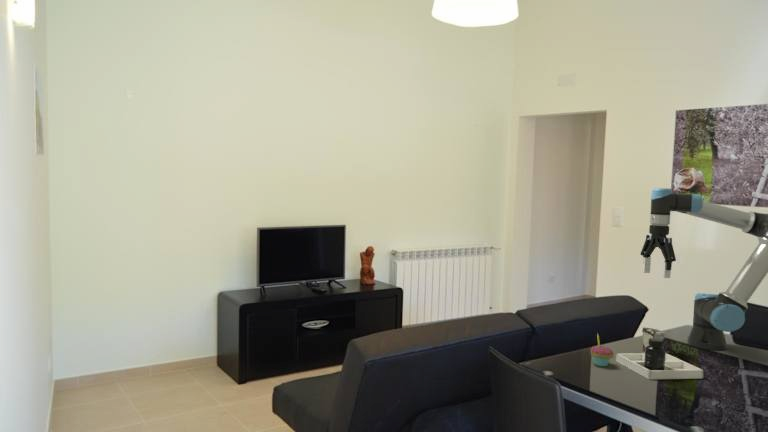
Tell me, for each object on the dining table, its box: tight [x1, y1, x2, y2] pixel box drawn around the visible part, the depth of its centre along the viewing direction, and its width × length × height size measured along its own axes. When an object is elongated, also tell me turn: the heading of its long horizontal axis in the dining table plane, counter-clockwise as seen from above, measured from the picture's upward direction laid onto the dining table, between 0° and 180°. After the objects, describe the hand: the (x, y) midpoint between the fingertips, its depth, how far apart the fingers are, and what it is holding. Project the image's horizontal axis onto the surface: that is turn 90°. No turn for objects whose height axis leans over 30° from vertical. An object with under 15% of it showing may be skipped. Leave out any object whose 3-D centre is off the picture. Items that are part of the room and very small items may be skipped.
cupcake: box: [589, 332, 615, 367], centre depth 225 cm, size 9×8×12 cm
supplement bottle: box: [644, 338, 666, 370], centre depth 215 cm, size 7×7×12 cm
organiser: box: [615, 352, 705, 380], centre depth 221 cm, size 21×21×3 cm
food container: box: [641, 327, 666, 353], centre depth 241 cm, size 12×6×10 cm, turn 179°
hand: (656, 275), depth 248 cm, fingers open, 13 cm apart
